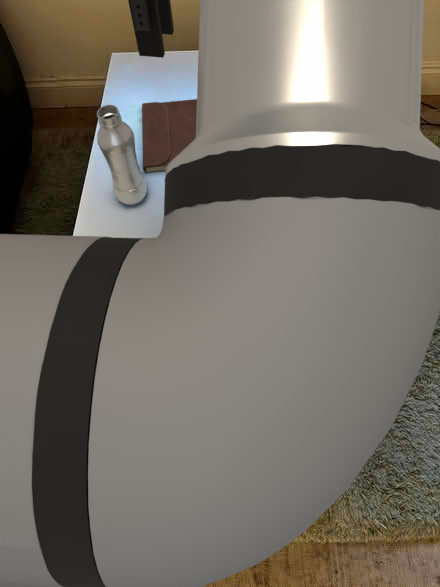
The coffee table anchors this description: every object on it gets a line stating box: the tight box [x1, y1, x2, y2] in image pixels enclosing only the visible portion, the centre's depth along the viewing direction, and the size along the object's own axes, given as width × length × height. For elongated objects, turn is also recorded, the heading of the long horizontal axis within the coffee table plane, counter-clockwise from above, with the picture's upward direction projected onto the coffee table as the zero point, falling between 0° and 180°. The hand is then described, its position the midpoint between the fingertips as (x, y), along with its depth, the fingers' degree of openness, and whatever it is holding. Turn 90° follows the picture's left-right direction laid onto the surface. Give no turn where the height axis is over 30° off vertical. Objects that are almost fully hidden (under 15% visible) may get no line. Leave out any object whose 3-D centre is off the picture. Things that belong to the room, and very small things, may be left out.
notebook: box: [141, 98, 197, 174], centre depth 97 cm, size 15×20×2 cm
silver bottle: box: [96, 104, 148, 206], centre depth 81 cm, size 6×7×20 cm
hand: (157, 42), depth 50 cm, fingers open, 4 cm apart
